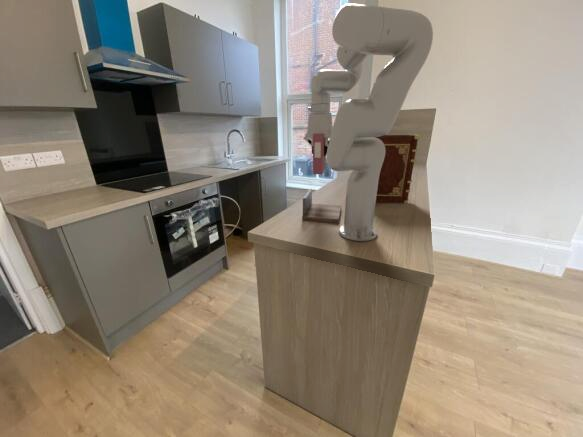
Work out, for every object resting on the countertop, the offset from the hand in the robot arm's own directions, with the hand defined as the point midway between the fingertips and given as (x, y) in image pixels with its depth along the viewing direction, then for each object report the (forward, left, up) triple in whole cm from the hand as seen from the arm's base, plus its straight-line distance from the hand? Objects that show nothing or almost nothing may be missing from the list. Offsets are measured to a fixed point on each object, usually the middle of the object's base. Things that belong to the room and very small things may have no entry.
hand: (319, 155), depth 105 cm
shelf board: (-14, -4, -23) cm, 27 cm away
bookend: (-14, +3, -21) cm, 25 cm away
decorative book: (+11, -30, -23) cm, 39 cm away
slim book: (+1, 0, -7) cm, 7 cm away
